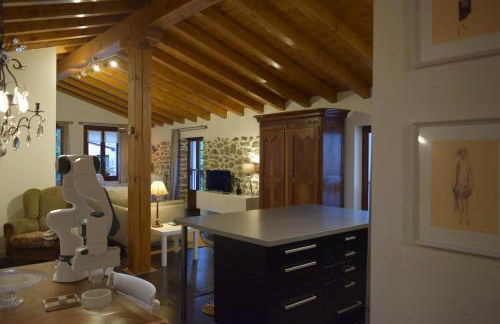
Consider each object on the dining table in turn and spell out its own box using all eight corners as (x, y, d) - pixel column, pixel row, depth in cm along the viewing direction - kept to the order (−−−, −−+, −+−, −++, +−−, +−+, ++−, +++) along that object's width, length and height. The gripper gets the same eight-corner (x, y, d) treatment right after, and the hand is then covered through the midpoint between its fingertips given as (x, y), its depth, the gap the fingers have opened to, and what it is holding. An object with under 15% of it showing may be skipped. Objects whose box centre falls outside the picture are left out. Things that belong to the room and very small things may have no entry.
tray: (42, 304, 168) (42, 299, 168) (75, 297, 176) (75, 293, 176) (45, 312, 158) (45, 307, 158) (80, 305, 166) (80, 300, 166)
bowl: (79, 303, 169) (79, 292, 169) (106, 298, 176) (106, 287, 176) (85, 312, 159) (85, 300, 159) (113, 306, 166) (113, 294, 166)
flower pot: (101, 299, 175) (101, 280, 175) (83, 297, 177) (83, 279, 177) (112, 292, 184) (112, 274, 184) (95, 290, 186) (95, 273, 186)
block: (57, 304, 166) (57, 296, 166) (65, 303, 168) (65, 295, 168) (59, 307, 163) (59, 299, 163) (66, 306, 164) (66, 298, 164)
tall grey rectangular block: (92, 281, 168) (92, 274, 168) (99, 280, 169) (99, 272, 170) (94, 283, 164) (94, 275, 165) (101, 282, 166) (101, 274, 166)
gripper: (118, 244, 176) (118, 273, 176) (71, 250, 164) (71, 281, 164) (122, 246, 171) (122, 276, 171) (74, 252, 159) (73, 284, 159)
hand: (96, 278), depth 167 cm, fingers closed on tall grey rectangular block, 3 cm apart
